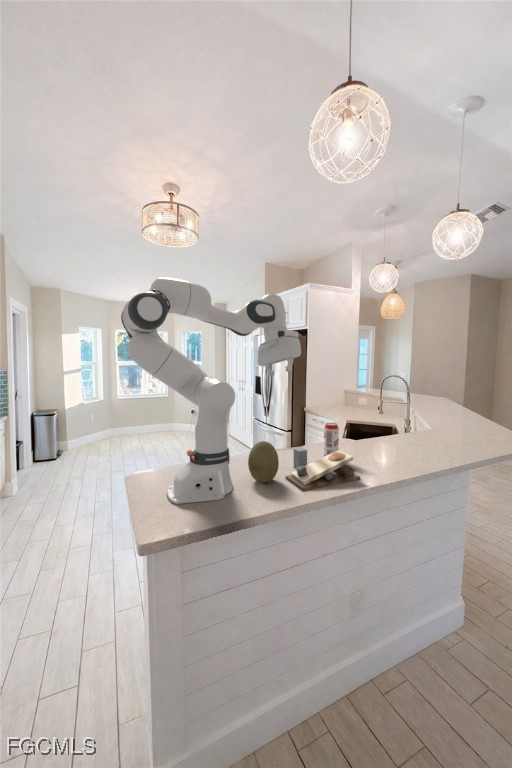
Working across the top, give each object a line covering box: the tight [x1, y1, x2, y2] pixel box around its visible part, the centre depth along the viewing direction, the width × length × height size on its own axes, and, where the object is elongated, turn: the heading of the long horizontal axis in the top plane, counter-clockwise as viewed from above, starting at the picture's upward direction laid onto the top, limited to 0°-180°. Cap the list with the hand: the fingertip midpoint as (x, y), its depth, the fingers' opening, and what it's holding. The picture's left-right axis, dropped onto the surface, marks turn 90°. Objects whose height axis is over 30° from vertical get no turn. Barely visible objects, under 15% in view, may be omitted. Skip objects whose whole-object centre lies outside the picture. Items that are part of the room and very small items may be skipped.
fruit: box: [247, 440, 280, 484], centre depth 117 cm, size 11×11×15 cm
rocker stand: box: [285, 464, 361, 492], centre depth 119 cm, size 25×12×4 cm, turn 112°
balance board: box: [290, 450, 355, 485], centre depth 118 cm, size 22×9×4 cm, turn 112°
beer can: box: [323, 422, 340, 457], centre depth 140 cm, size 6×6×16 cm
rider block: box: [293, 447, 308, 470], centre depth 130 cm, size 4×4×8 cm
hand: (280, 373), depth 119 cm, fingers open, 8 cm apart
